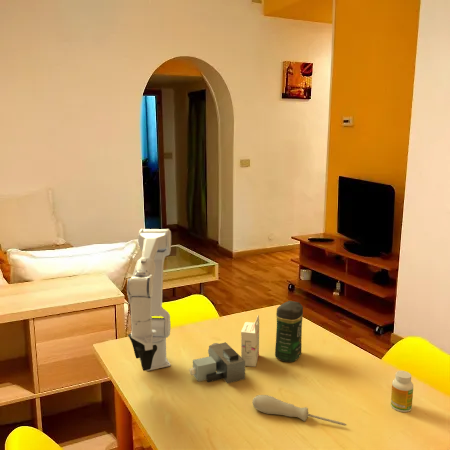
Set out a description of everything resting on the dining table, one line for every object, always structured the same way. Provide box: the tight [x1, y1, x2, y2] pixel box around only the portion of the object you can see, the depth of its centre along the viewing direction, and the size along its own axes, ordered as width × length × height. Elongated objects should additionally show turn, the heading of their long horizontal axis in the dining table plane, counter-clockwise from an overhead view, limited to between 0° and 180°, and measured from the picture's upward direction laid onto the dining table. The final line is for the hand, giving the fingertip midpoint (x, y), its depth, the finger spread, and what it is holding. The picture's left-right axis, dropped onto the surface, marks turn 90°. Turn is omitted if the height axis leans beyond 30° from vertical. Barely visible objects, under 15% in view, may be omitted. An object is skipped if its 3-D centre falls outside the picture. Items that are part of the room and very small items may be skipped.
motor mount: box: [206, 342, 246, 384], centre depth 145 cm, size 16×11×7 cm
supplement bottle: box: [390, 370, 414, 413], centre depth 126 cm, size 5×5×10 cm
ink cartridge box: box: [240, 314, 260, 367], centre depth 152 cm, size 9×5×15 cm, turn 168°
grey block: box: [189, 356, 217, 382], centre depth 142 cm, size 4×8×5 cm, turn 114°
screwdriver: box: [252, 394, 347, 427], centre depth 122 cm, size 5×25×4 cm, turn 68°
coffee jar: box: [274, 300, 304, 363], centre depth 154 cm, size 10×8×19 cm
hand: (143, 363), depth 132 cm, fingers open, 7 cm apart
